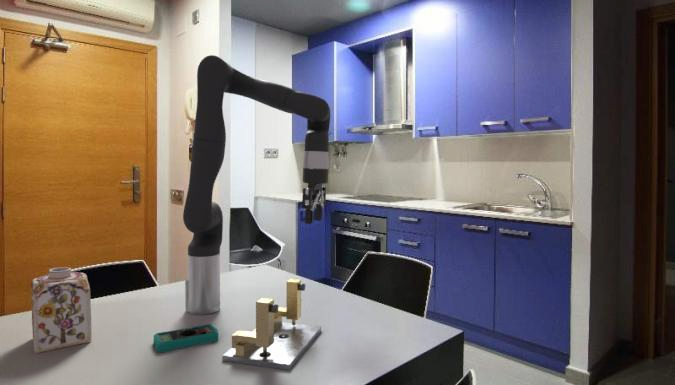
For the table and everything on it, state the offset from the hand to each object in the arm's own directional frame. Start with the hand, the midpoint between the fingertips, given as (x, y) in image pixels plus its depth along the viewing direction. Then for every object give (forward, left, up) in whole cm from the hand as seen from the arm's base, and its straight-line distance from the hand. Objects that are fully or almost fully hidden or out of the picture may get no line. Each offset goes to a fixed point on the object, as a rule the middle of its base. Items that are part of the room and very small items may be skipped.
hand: (313, 222), depth 126 cm
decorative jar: (-54, -37, -28) cm, 71 cm away
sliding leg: (-3, -15, -26) cm, 30 cm away
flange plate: (-2, -24, -28) cm, 37 cm away
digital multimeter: (-24, -29, -28) cm, 47 cm away
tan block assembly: (-3, -24, -26) cm, 36 cm away
